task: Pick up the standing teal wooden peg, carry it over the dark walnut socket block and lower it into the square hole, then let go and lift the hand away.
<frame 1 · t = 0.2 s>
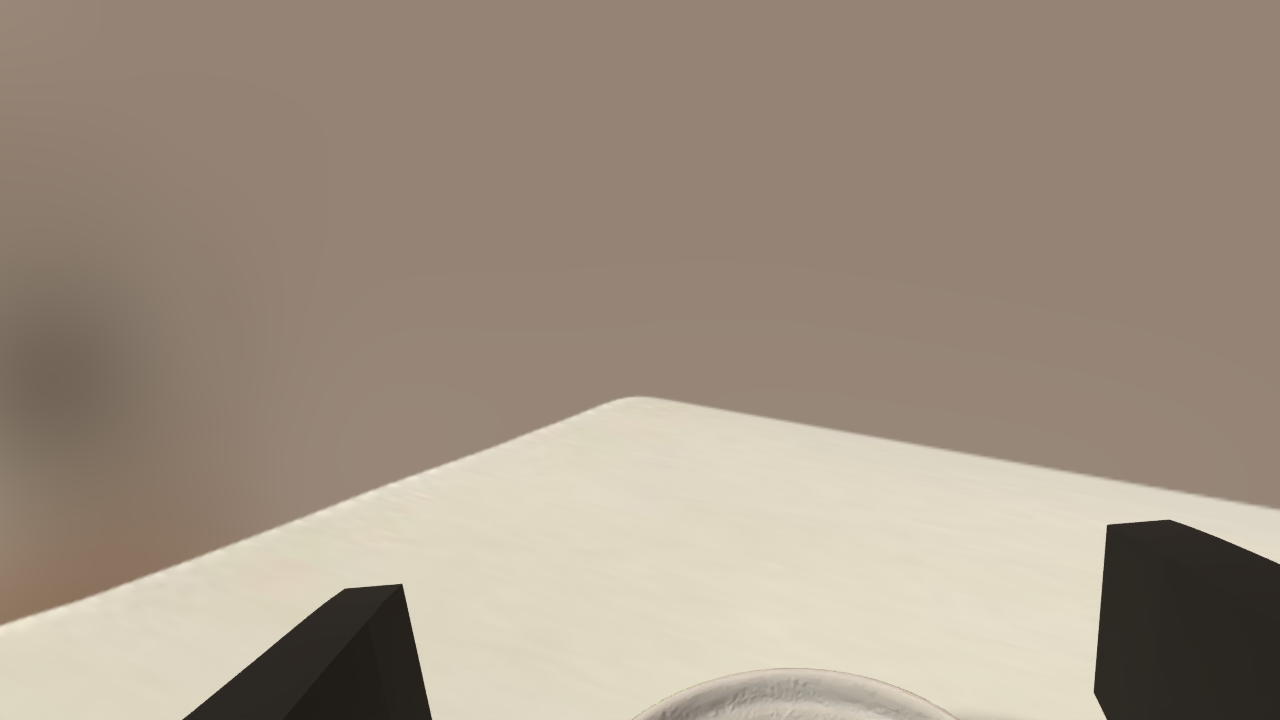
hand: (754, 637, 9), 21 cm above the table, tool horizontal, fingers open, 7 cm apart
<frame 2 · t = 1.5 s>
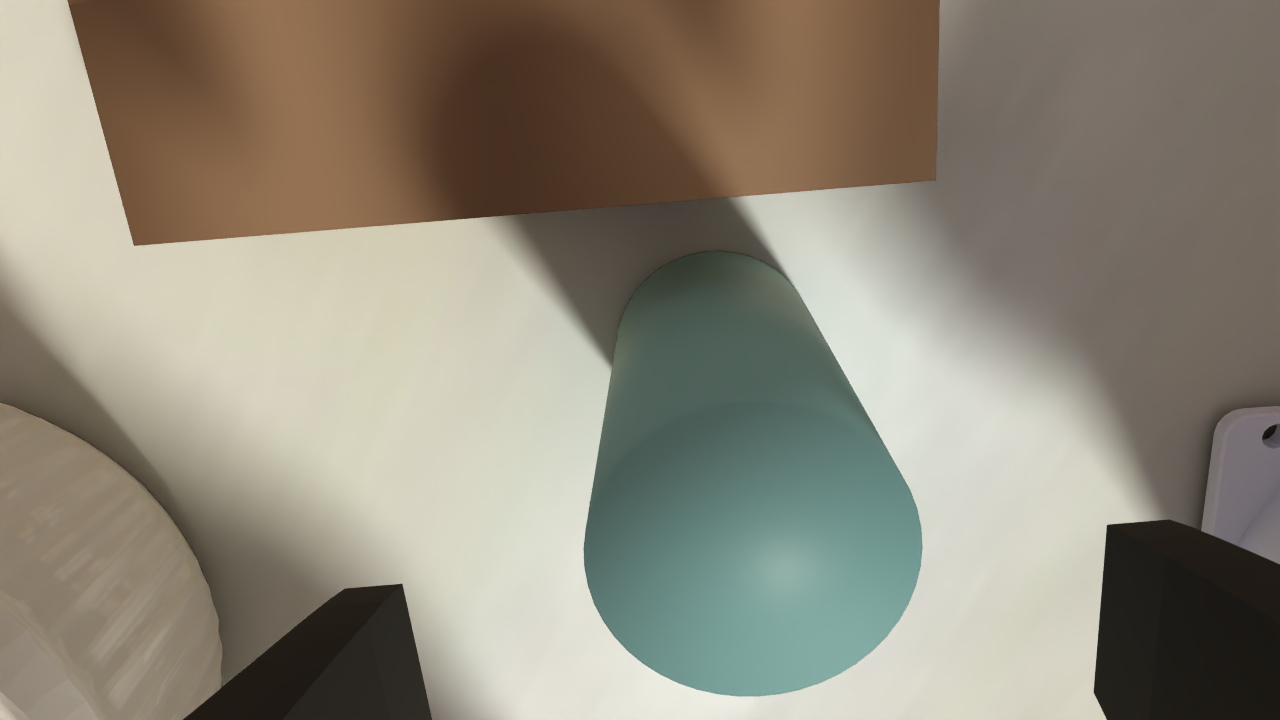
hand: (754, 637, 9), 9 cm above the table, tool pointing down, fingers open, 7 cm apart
peg: (715, 348, 18), on the table
ramekin: (1, 599, 21), on the table
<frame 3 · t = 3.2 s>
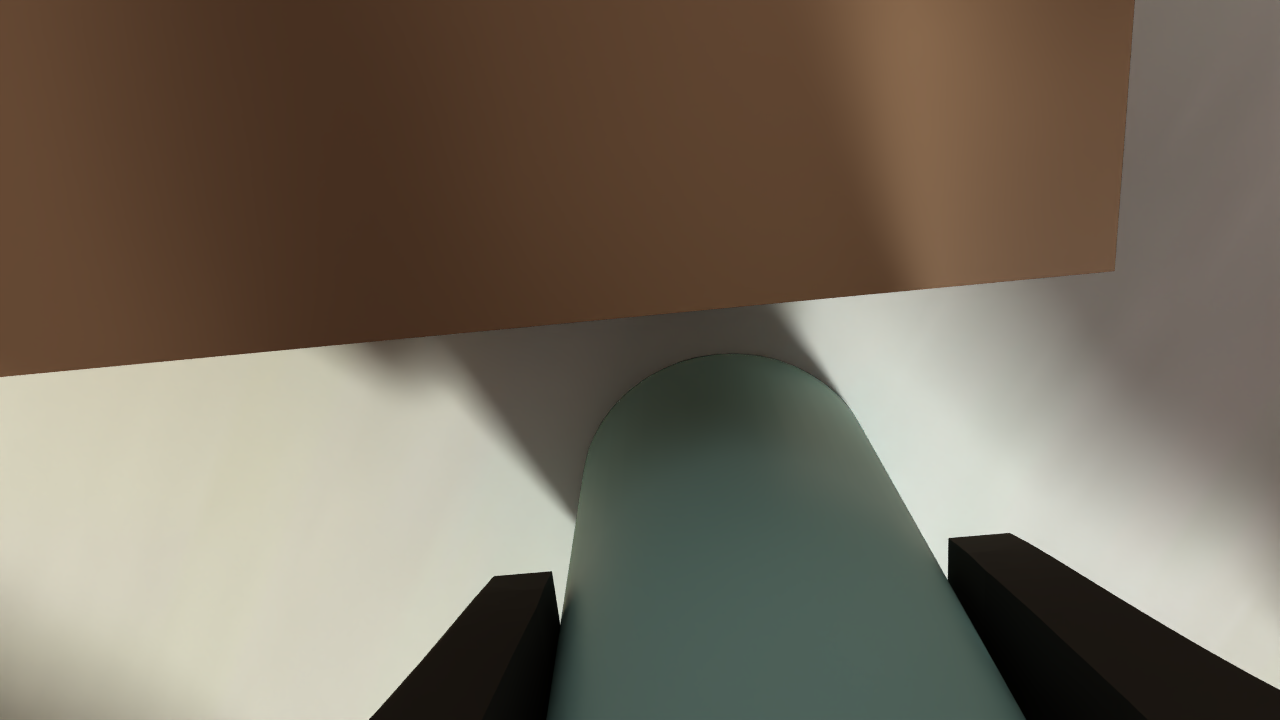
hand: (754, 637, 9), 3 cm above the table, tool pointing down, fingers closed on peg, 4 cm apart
peg: (727, 491, 12), on the table, touching gripper
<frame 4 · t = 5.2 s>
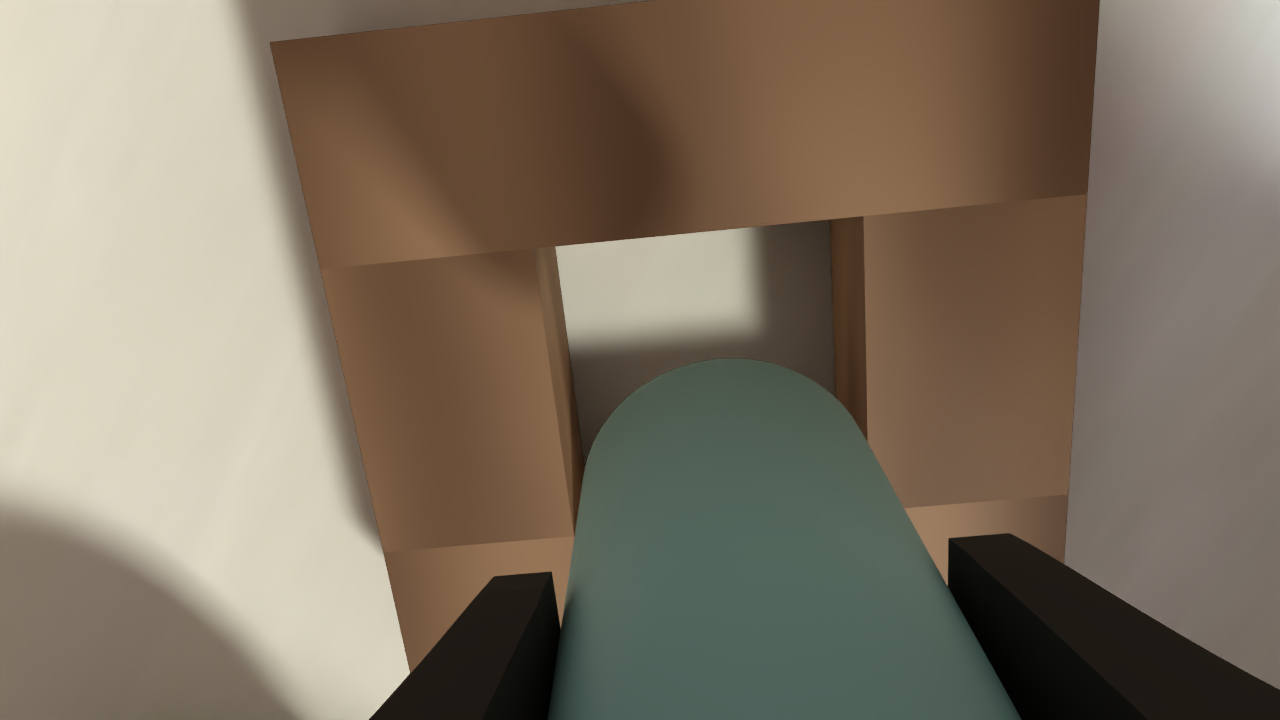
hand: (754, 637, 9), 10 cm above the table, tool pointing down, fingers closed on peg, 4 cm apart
peg: (727, 495, 12), point 7 cm above the table, touching gripper
socket: (700, 335, 19), on the table
when the fingers open (4 cm above the table, at t = 7.4 s): peg drops 1 cm, resting in socket.
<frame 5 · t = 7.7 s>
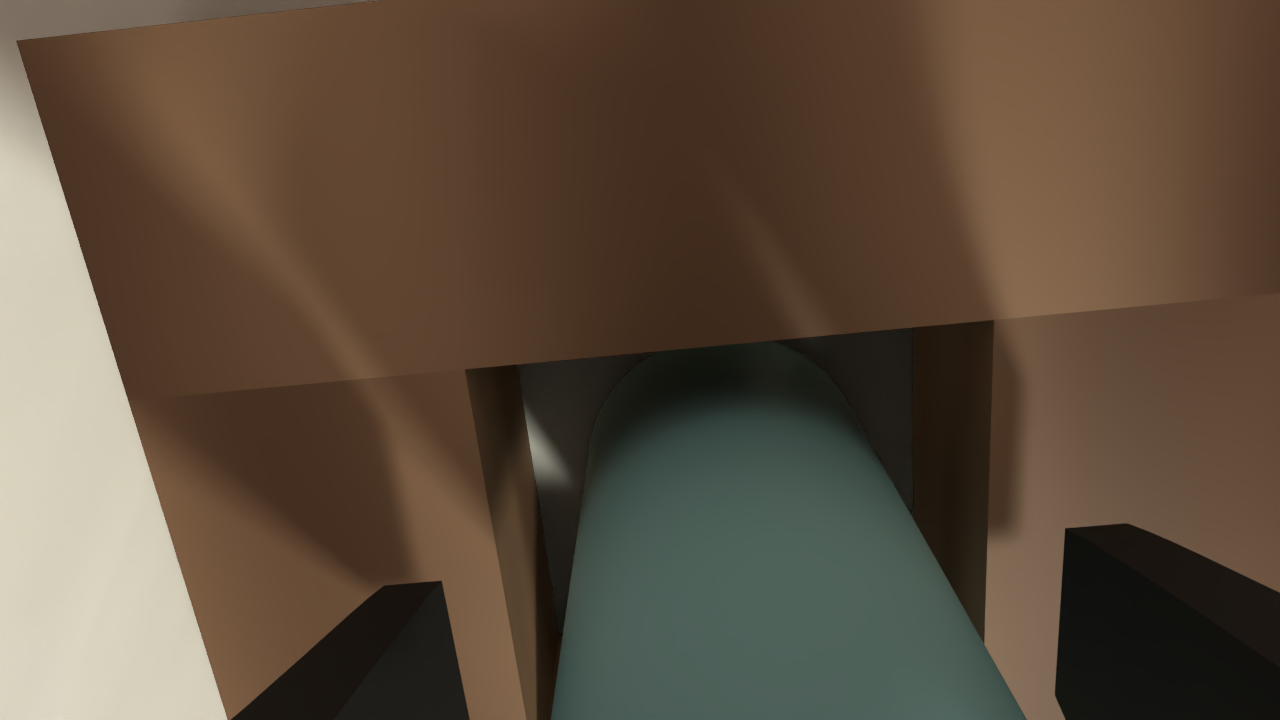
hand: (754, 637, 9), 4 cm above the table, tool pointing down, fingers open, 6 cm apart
peg: (723, 462, 13), resting in socket
socket: (722, 460, 13), on the table
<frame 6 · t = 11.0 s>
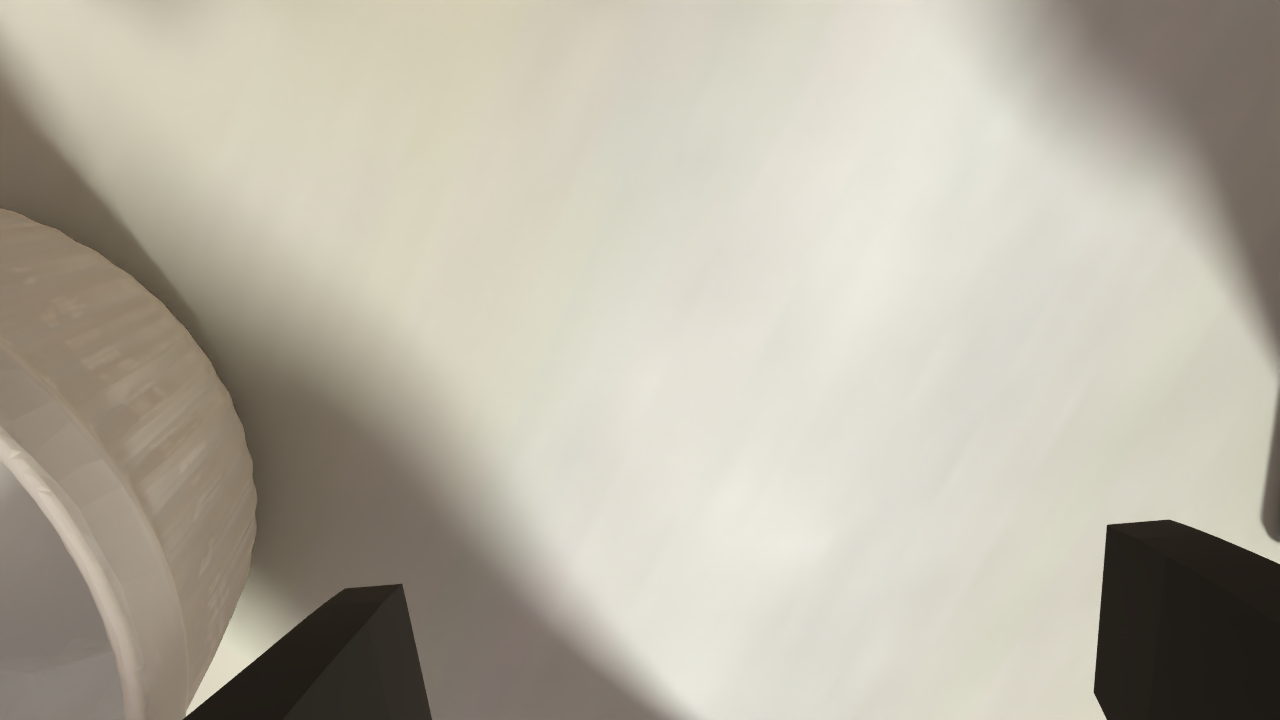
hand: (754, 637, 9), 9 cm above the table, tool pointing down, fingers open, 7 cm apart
ramekin: (13, 452, 19), on the table
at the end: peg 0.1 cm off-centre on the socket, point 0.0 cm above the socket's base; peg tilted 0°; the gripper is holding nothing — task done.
